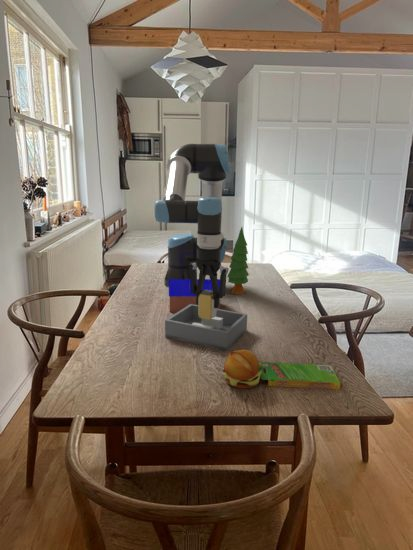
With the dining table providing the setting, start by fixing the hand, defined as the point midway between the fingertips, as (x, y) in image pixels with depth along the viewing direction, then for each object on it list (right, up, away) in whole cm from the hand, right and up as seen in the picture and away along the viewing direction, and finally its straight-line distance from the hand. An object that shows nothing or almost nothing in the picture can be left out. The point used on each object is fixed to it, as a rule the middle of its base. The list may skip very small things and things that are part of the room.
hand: (207, 315), depth 139 cm
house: (-5, 0, +28) cm, 28 cm away
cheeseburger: (+9, -15, -28) cm, 33 cm away
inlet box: (0, -6, +2) cm, 7 cm away
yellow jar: (0, 0, 0) cm, 0 cm away
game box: (+25, -15, -25) cm, 38 cm away
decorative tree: (+13, +6, +47) cm, 49 cm away
